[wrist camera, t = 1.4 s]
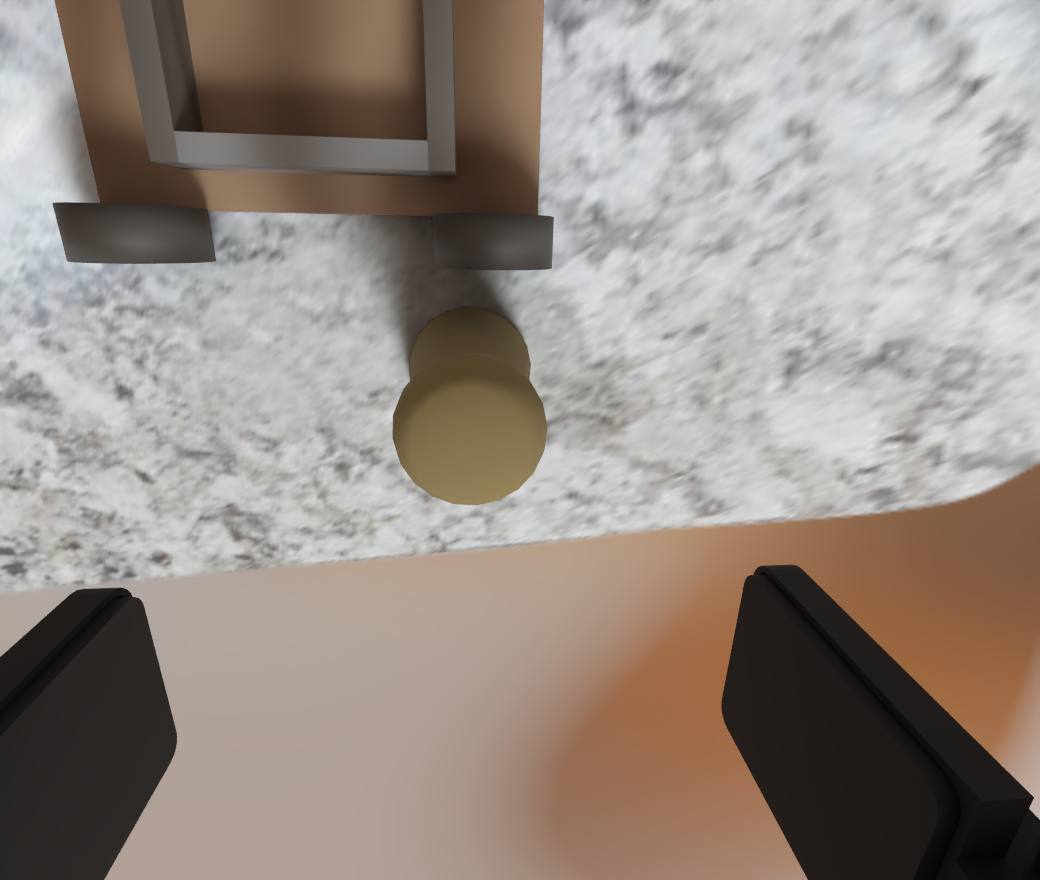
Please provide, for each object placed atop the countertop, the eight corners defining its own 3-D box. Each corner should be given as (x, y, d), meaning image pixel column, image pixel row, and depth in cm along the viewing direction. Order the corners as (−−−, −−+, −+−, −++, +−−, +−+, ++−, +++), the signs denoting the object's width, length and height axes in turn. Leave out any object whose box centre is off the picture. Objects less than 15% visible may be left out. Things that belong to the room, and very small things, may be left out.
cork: (513, 437, 29) (537, 548, 18) (398, 411, 28) (356, 513, 17) (544, 324, 27) (591, 379, 16) (422, 292, 26) (391, 328, 15)
